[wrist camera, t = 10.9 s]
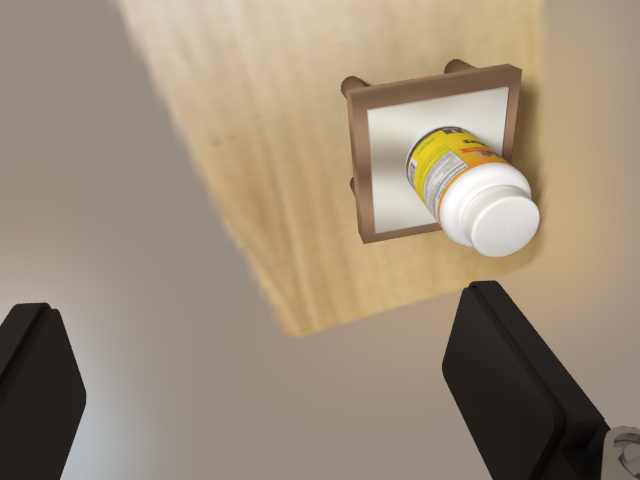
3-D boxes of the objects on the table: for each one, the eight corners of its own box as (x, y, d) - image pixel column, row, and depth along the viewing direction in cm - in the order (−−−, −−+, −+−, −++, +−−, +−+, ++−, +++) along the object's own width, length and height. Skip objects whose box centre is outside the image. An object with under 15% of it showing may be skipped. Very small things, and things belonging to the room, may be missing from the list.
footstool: (332, 71, 37) (352, 98, 30) (472, 48, 38) (524, 70, 31) (345, 199, 44) (364, 246, 37) (464, 178, 44) (505, 219, 37)
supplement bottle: (489, 153, 34) (573, 220, 25) (434, 205, 36) (495, 285, 27) (443, 105, 31) (519, 163, 23) (387, 164, 33) (438, 238, 25)
